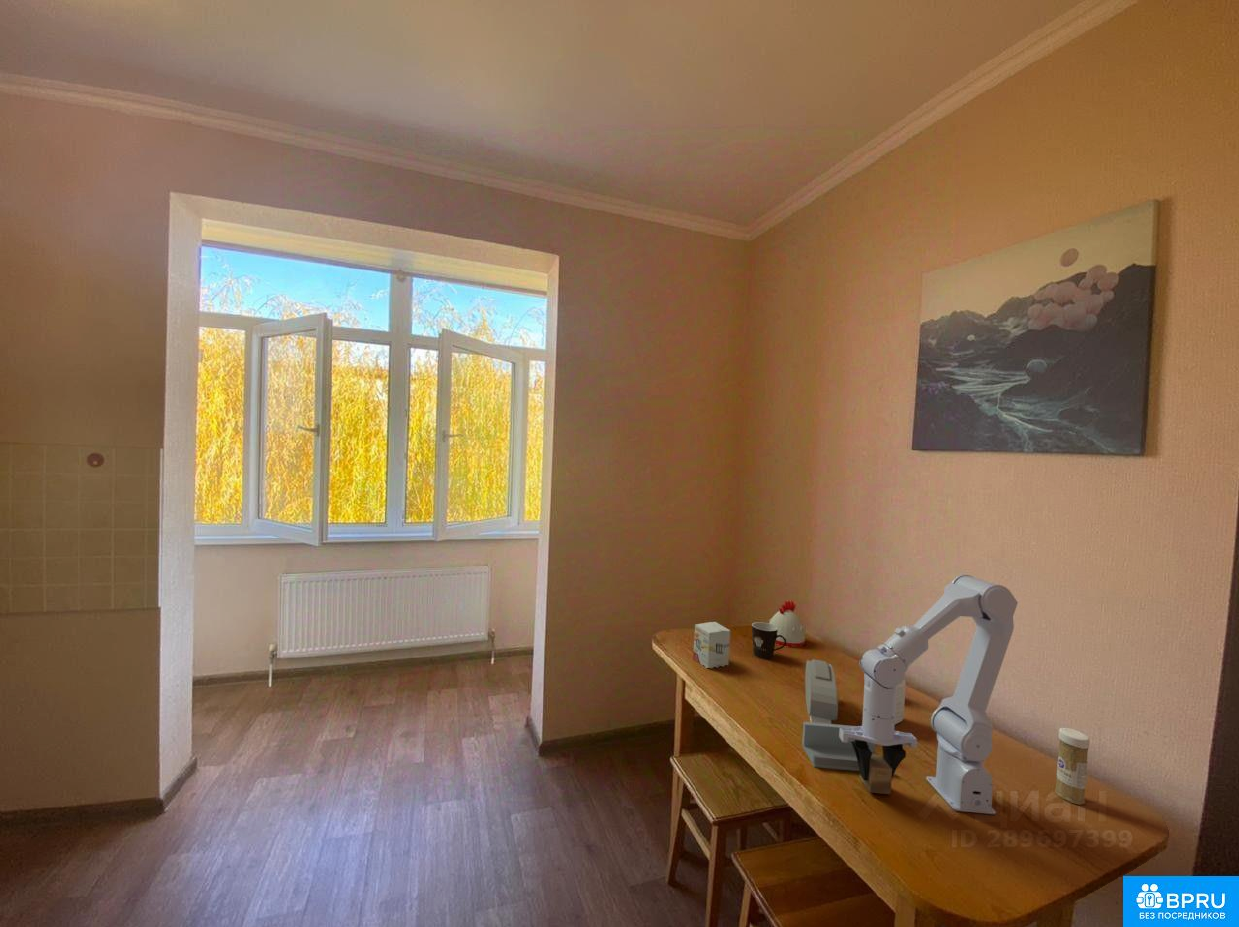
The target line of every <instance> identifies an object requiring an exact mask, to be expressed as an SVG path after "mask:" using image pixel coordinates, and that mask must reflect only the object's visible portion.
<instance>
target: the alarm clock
mask: <svg viewBox="0 0 1239 927" xmlns="http://www.w3.org/2000/svg"><path fill="white" fill-rule="evenodd" d="M805 662H806V663H805V679H804V682H805V683H804V684H805V701H806V712H807V714H808V716H809V720H810V721H809V722H813V723H824V724H832V721H836V720H837V719H838V713H839V698H838V696H839V695H838V686H837V680H836V674H835V670H834V667H833V665H832V664H831V663H828V662H826V661H824V660H818V659H813V658H812V659H811V660H806V661H805Z"/></svg>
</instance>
